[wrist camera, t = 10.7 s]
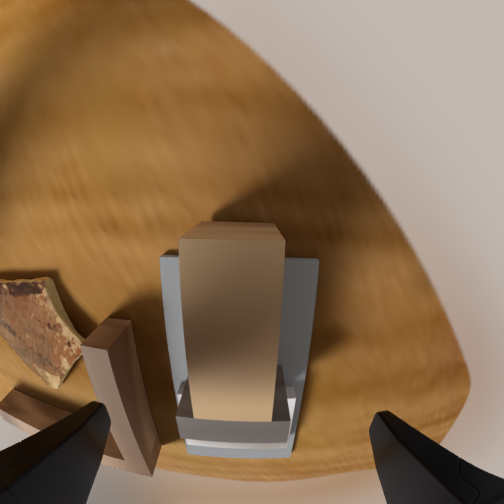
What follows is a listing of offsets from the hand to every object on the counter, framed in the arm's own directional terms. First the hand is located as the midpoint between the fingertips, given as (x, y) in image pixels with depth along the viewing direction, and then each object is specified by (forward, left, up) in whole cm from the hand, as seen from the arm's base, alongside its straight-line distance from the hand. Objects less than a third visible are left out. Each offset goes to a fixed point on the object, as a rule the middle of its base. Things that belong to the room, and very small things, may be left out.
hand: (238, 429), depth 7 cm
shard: (-15, -2, -7) cm, 16 cm away
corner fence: (-13, -5, -6) cm, 15 cm away
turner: (0, -1, -6) cm, 6 cm away
